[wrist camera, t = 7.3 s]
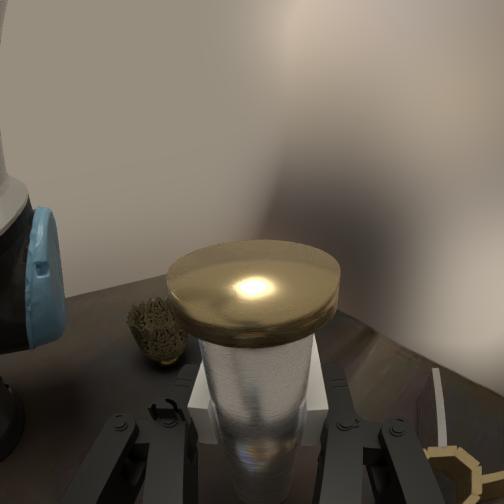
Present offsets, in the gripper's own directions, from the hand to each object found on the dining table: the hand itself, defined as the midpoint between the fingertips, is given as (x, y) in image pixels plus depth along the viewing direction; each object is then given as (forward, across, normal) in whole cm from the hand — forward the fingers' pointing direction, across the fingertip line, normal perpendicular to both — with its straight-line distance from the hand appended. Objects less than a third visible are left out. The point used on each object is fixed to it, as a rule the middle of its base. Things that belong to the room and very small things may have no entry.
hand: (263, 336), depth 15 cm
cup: (+13, -13, -15) cm, 24 cm away
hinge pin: (-5, 0, -10) cm, 11 cm away
